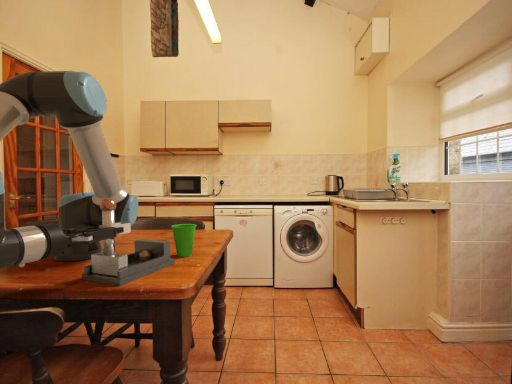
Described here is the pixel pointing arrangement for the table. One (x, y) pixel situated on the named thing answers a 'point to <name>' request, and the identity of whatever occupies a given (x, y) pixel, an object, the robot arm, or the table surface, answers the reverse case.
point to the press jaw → (108, 245)
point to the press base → (136, 263)
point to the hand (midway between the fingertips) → (124, 227)
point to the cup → (184, 238)
